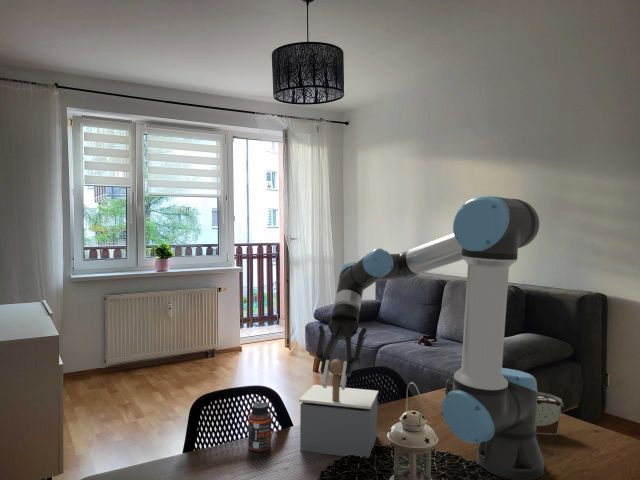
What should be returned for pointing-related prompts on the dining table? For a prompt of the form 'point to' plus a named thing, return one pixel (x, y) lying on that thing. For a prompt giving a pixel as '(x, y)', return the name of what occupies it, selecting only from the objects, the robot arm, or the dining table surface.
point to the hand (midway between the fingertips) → (333, 386)
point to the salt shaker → (448, 386)
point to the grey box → (337, 429)
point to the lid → (339, 392)
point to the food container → (548, 414)
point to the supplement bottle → (259, 428)
